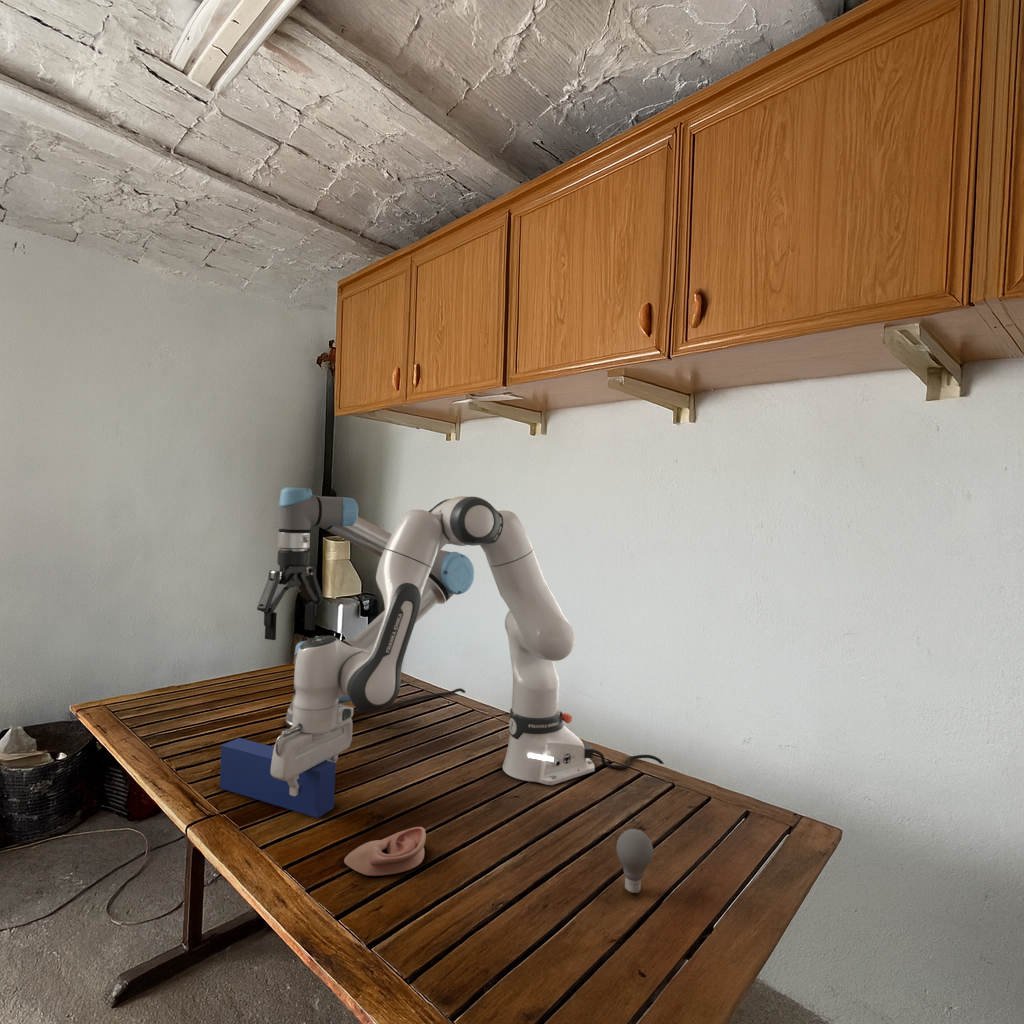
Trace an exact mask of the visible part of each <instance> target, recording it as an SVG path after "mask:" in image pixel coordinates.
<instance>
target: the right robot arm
mask: <svg viewBox="0 0 1024 1024" xmlns="http://www.w3.org/2000/svg"><path fill="white" fill-rule="evenodd" d="M391 534H392V535H391V537H390V539H389V540H388V543H387V545H386V547H385V549H384V551H383V554H382V556H381V557H380V559H379V562H378V565H377V569H376V573H375V581H376V585H377V588H378V589H379V591H380V594H381V596H382V600H383V605H384V610H385V613H384V619H383V622H382V625H381V628H380V630H379V633H378V636H377V639H376V642H375V645H374V648H373V651H372V653H371V652H369V651H367V650H365V649H360V648H356V647H352V646H349V645H347V644H345V643H343V642H342V640H339V638H337V637H336V636H333V635H317V636H318V637H316V636H315V637H311V638H308V639H307V640H304V641H305V642H304V643H302V644H301V646H300V647H299V650H298V653H297V657H296V664H295V663H294V668H295V674H294V673H293V686H294V685H295V690H296V693H295V698H294V701H293V713H292V727H291V728H290V729H289V728H286V729H284V730H282V731H281V733H280V734H279V736H278V737H277V738H276V740H275V743H274V746H273V747H274V750H273V755H272V762H271V775H272V777H273V778H275V779H278V780H282V781H287V783H288V785H289V786H290V789H289V793H290V795H291V796H297V795H299V794H300V793H301V792H302V791H301V789H302V785H300V784H298V783H297V779H299V774H300V773H302V772H304V771H306V770H308V769H310V768H312V767H314V766H316V765H318V764H320V763H321V762H323V761H325V760H327V761H331V762H334V763H336V764H337V761H338V759H339V754H342V753H343V752H344V751H347V750H348V749H349V748H350V747H351V744H352V742H353V725H354V724H353V723H354V722H353V719H352V718H353V716H354V713H353V712H354V710H355V709H354V708H356V710H360V711H362V712H361V713H364V714H376V713H380V712H382V711H384V710H386V709H389V708H388V707H389V706H390V705H391V704H394V703H395V701H396V699H397V698H398V696H399V694H400V691H401V683H402V667H403V666H402V665H403V661H404V659H405V655H406V652H407V649H408V646H409V643H410V641H411V637H412V634H413V630H414V627H415V625H416V623H415V621H416V618H417V615H418V611H419V607H420V602H421V598H422V593H423V590H424V587H425V584H426V582H427V579H428V576H429V574H430V571H431V569H432V566H433V564H434V561H435V558H436V556H437V554H438V553H439V551H440V550H442V549H443V547H445V546H446V545H454V546H458V547H467V546H480V548H481V549H482V550H483V552H484V554H485V557H486V561H487V564H488V567H489V568H490V572H491V574H492V576H493V579H494V582H495V585H496V588H497V590H498V593H499V595H500V597H501V598H502V600H503V601H504V604H506V606H507V607H508V609H509V610H508V611H507V613H506V615H505V618H504V628H505V631H506V635H507V639H508V646H509V647H508V648H509V656H510V663H511V671H512V672H511V673H512V694H511V695H512V696H511V708H510V710H509V718H508V719H509V720H508V721H509V722H508V733H509V738H508V743H507V748H506V753H505V757H504V760H503V763H502V767H501V768H502V770H503V772H504V773H505V774H506V775H508V777H509V776H510V777H512V778H514V779H517V780H519V781H520V780H521V781H525V782H533V783H539V784H542V785H546V786H554V785H557V784H561V783H563V782H566V781H569V780H573V779H576V778H578V777H581V776H585V775H588V774H590V773H593V772H595V771H596V766H595V763H594V762H593V760H592V759H593V758H594V754H596V755H598V756H599V757H600V758H601V763H602V764H603V765H604V766H605V767H606V768H607V767H608V768H610V769H614V770H622V769H627V768H629V767H630V761H633V760H639V759H652V760H654V761H656V762H657V763H659V764H660V765H664V764H665V763H664V761H663V760H662V759H660V758H659V757H657V756H654V755H653V754H652V755H651V754H637V755H632V756H628V757H627V758H626V763H625V764H620V765H619V764H618V765H617V764H610V763H608V762H607V761H606V759H605V756H604V754H603V753H602V752H601V751H599V750H596V749H594V748H593V747H592V745H591V744H590V743H589V742H583V741H582V739H581V738H580V737H579V736H578V735H576V734H575V733H574V732H573V731H572V730H570V729H569V728H568V727H566V726H565V725H564V723H566V724H570V723H571V722H572V721H573V716H572V715H571V714H569V713H567V712H564V713H563V711H562V710H560V709H559V690H560V689H559V688H560V678H559V675H558V673H557V670H556V666H555V662H558V661H562V660H564V659H566V658H567V657H568V656H569V655H570V654H571V653H572V652H573V650H574V648H575V645H576V632H575V629H574V627H573V626H572V625H571V623H570V621H568V619H567V618H566V616H565V614H564V613H563V611H562V609H561V606H560V604H559V603H558V601H557V599H556V597H555V595H554V594H553V592H552V591H551V589H550V587H549V585H548V583H547V581H546V579H545V577H544V574H543V571H542V569H541V566H540V563H539V561H538V558H537V556H536V553H535V550H534V547H533V545H532V543H531V540H530V537H529V535H528V533H527V530H526V529H525V527H524V526H523V523H522V522H521V521H520V519H519V517H518V516H517V514H516V513H514V512H513V511H510V510H497V509H496V508H495V507H494V506H493V505H492V504H491V503H490V502H489V501H488V500H485V499H484V498H483V497H478V496H466V495H465V496H463V495H462V496H461V495H460V496H455V497H453V498H447V499H444V500H441V501H440V502H438V503H437V504H436V505H434V507H432V508H431V509H429V510H424V509H410V510H408V511H406V512H405V513H404V514H403V516H402V517H401V519H400V520H399V521H398V523H397V525H396V526H395V528H394V529H393V532H392V533H391ZM343 696H348V697H349V699H350V700H351V701H350V702H351V704H352V705H353V706H354V708H353V707H352V706H349V705H345V704H342V703H340V704H338V700H339V698H340V697H343Z"/></svg>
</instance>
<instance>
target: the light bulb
mask: <svg viewBox="0 0 1024 1024" xmlns="http://www.w3.org/2000/svg"><path fill="white" fill-rule="evenodd" d="M615 849H616V854H617V857H618V859H619V861H620V863H621V865H622V867H623V873H624V874H623V875H624V876H625V878H624V888H625V890H627V891H628V892H630V893H634V894H635V893H639V892H640V891H641V889H642V887H641V886H642V879H643V877H644V875H645V871H646V868H647V867H648V866H649V864H650V863H651V861H652V859H653V855H654V847H653V843H652V841H651V838H649V836H648V835H647V834H646V833H645V832H643V831H642V830H641V829H636V828H629V829H627V830H625V831H623V832H622V833H621V834H620V835H619V837H618V839H617V841H616V847H615Z"/></svg>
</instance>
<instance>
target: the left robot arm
mask: <svg viewBox="0 0 1024 1024" xmlns="http://www.w3.org/2000/svg"><path fill="white" fill-rule="evenodd" d="M312 526H313V527H319V528H321V529H323V530H325V531H327V532H329V533H331V534H333V535H335V536H337V537H338V538H341V539H343V540H345V541H347V542H349V543H351V544H354V545H355V546H356V547H359V548H361V549H363V550H365V551H367V552H369V553H370V554H373V555H375V556H376V557H379V558H381V556H382V554H383V551H384V549H385V547H386V545H387V543H388V540H389V539H390V537H391V535H392V533H390V532H389V531H386V529H385V530H384V529H382V528H381V527H379V526H377V525H375V524H373V523H371V522H370V521H368V520H366V519H365V518H362V517H360V516H359V505H358V502H357V501H356V500H355V499H354V498H352V497H345V496H321V495H313V490H312V489H311V488H306V487H288V486H287V487H285V486H284V487H283V488H282V489H281V490H280V494H279V502H278V533H277V534H278V535H277V547H278V551H277V560H276V561H277V565H278V566H279V569H278V570H273V569H271V570H269V571H268V578H267V581H266V584H265V586H264V589H263V592H262V593H261V596H260V599H259V602H258V604H257V607H256V610H257V611H259V612H262V613H263V626H264V640H269V641H276V639H277V619H278V618H277V615H278V614H277V612H276V611H275V610H276V609H277V608H278V606H279V604H280V602H281V601H282V599H283V597H284V595H285V594H286V592H288V590H290V589H291V588H295V587H298V589H299V590H300V592H301V594H302V596H303V597H304V598H305V600H306V602H307V603H305V606H304V630H307V631H315V629H316V616H317V607H318V606H320V605H321V603H322V601H323V599H324V596H323V593H322V589H321V587H320V584H319V581H318V578H317V574H316V573H317V570H316V567H315V566H309V564H310V554H311V553H310V550H308V549H310V543H311V541H310V540H311V527H312ZM474 580H475V568H474V564H473V562H472V561H471V559H470V558H469V557H468V556H467V555H465V554H463V553H461V552H458V551H447V550H443V549H441V550H440V551H439V553H438V554H437V556H436V558H435V561H434V564H433V566H432V569H431V571H430V574H429V576H428V579H427V582H426V584H425V587H424V590H423V593H422V598H421V602H420V607H419V611H418V615H417V618H416V621H415V624H416V623H418V622H419V621H420V620H421V619H422V618H423V617H424V616H425V615H426V614H427V613H428V612H429V611H430V610H432V608H433V607H435V606H436V605H444V604H445V603H447V602H448V601H449V600H450V598H452V597H453V596H454V595H455V596H456V595H457V596H459V595H462V594H464V593H466V592H468V591H469V590H470V589H471V587H472V585H473V583H474ZM384 613H385V609H384V610H383V611H381V613H379V615H377V616H376V617H375V618H374V619H372V621H371V622H370V623H369V624H367V626H365V627H364V628H363V629H362V630H361V631H360V632H358V634H356V635H355V637H353V638H352V639H343V640H341V642H343V643H345V644H347V645H349V646H352V647H356V648H360V649H365V650H367V651H369V652H371V653H372V651H373V648H374V645H375V642H376V639H377V636H378V633H379V630H380V628H381V625H382V622H383V619H384ZM305 641H306V640H303V641H299V642H297V644H296V645H295V650H294V653H293V654H294V655H293V656H294V665H295V664H296V657H297V653H298V650H299V647H300V646H301V644H302V643H304V642H305ZM294 674H295V667H294V672H293V675H294ZM458 692H461V693H462V694H465V693H466V690H465V689H463V688H460V687H459V688H455V689H453V690H450V691H443V692H438V693H431V694H426V695H421V696H417V697H413V698H408V699H403V700H401V701H399V702H393V703H392V704H391V705H390V706H389V707H388V708H387V709H391V708H395V707H397V706H400V705H404V704H409V703H412V702H417V701H420V700H425V699H429V698H434V697H435V698H436V697H442V696H449V695H453V694H455V693H458ZM295 693H296V690H295V685H294V684H293V695H292V696H293V697H292V699H291V702H290V704H289V707H288V708H287V713H286V715H285V726H286V728H287V729H290V728H291V727H292V713H293V701H294V698H295ZM350 702H351V700H350V699H349V697H348V696H343V697H340V698H339V700H338V704H344V703H345V704H346V703H350ZM357 713H358V714H360V713H361V714H362V713H363V712H362V711H360V710H358V709H354V712H353V714H357Z"/></svg>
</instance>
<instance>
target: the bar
mask: <svg viewBox="0 0 1024 1024" xmlns="http://www.w3.org/2000/svg"><path fill="white" fill-rule="evenodd" d="M273 750H274V746H272V745H269V744H264V743H260V742H257V741H252V740H248V739H245V738H241V737H238V738H235V739H232V740H230V741H227V742H224V743H223V744H221V746H220V770H219V771H220V772H219V788H220V789H221V790H225V791H228V792H231V793H234V794H237V795H240V796H243V797H247V798H250V799H254V800H257V801H261V802H264V803H267V804H271V805H273V806H276V807H280V808H284V809H287V810H290V811H293V812H296V813H300V814H303V815H307V816H309V817H313V818H315V819H319V818H321V817H323V816H324V815H325V814H327V813H328V812H330V811H332V810H333V809H335V789H336V788H335V787H336V765H337V762H336V763H334V762H331V761H327V760H325V761H323V762H321V763H320V764H318V765H316V766H314V767H312V768H310V769H308V770H306V771H304V772H302V773H300V774H299V779H297V783H298V784H300V785H302V789H301V791H302V792H301V793H300V794H299V795H297V796H291V795H290V793H289V789H290V786H289V785H288V783H287V781H282V780H278V779H275V778H273V777H272V775H271V762H272V755H273Z"/></svg>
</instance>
